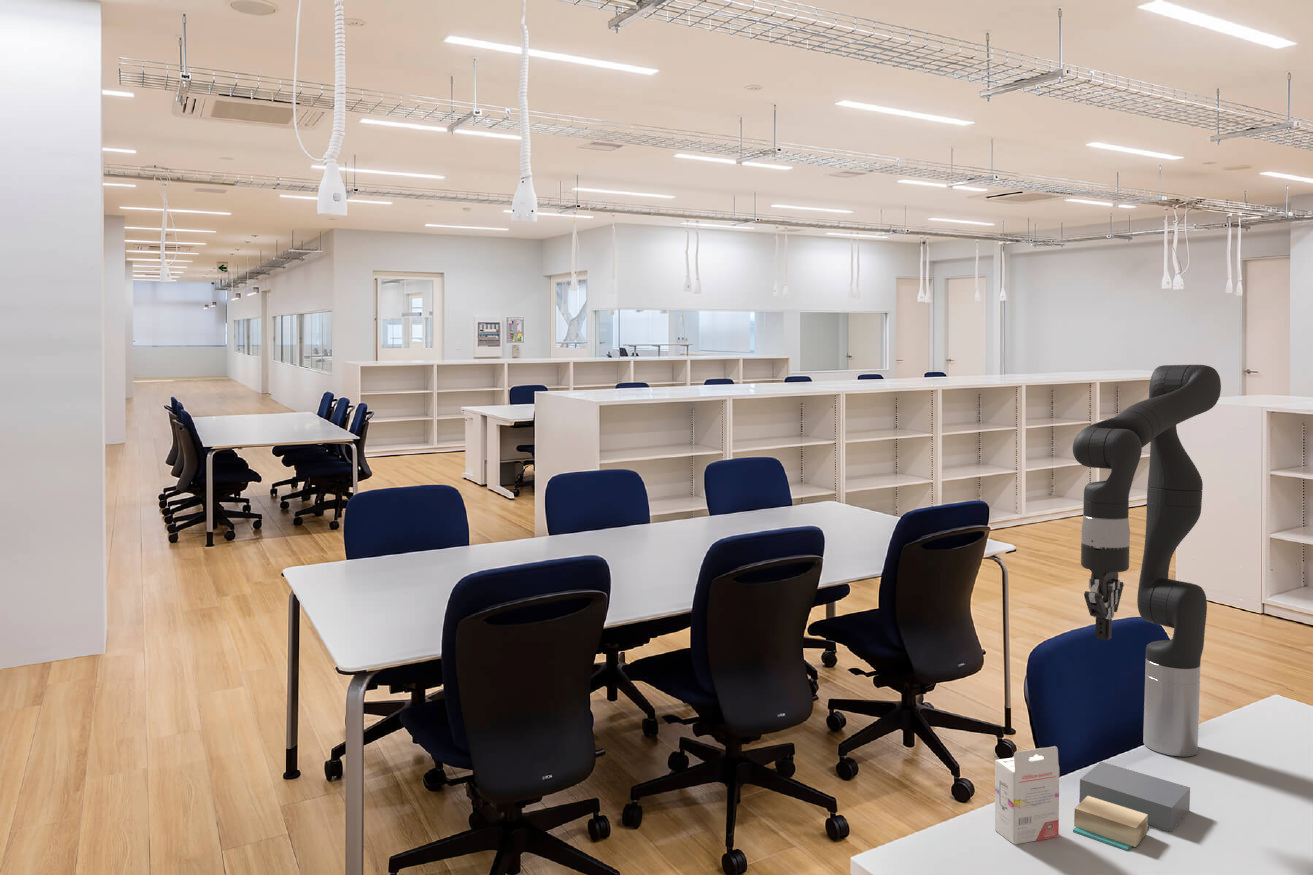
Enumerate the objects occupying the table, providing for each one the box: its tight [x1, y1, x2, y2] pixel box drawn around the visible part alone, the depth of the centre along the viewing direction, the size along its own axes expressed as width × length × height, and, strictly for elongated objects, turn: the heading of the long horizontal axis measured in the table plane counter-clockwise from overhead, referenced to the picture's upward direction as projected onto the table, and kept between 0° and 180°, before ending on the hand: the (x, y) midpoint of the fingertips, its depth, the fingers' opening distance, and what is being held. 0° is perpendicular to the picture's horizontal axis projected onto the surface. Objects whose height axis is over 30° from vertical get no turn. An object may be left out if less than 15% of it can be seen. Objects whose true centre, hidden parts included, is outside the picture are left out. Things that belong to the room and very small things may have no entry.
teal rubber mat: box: [1072, 826, 1132, 852], centre depth 138 cm, size 10×8×1 cm
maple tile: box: [1073, 796, 1149, 848], centre depth 137 cm, size 6×9×3 cm, turn 45°
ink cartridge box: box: [994, 745, 1060, 845], centre depth 136 cm, size 9×5×15 cm, turn 105°
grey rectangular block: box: [1079, 761, 1191, 833], centre depth 145 cm, size 10×14×4 cm
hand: (1103, 638), depth 151 cm, fingers closed
